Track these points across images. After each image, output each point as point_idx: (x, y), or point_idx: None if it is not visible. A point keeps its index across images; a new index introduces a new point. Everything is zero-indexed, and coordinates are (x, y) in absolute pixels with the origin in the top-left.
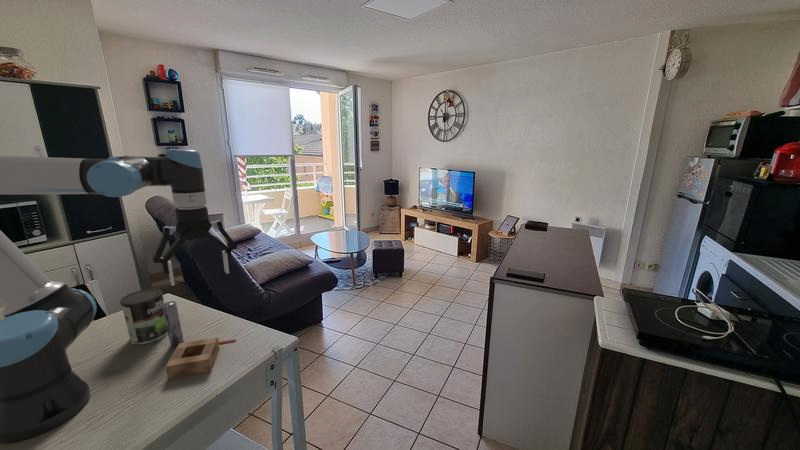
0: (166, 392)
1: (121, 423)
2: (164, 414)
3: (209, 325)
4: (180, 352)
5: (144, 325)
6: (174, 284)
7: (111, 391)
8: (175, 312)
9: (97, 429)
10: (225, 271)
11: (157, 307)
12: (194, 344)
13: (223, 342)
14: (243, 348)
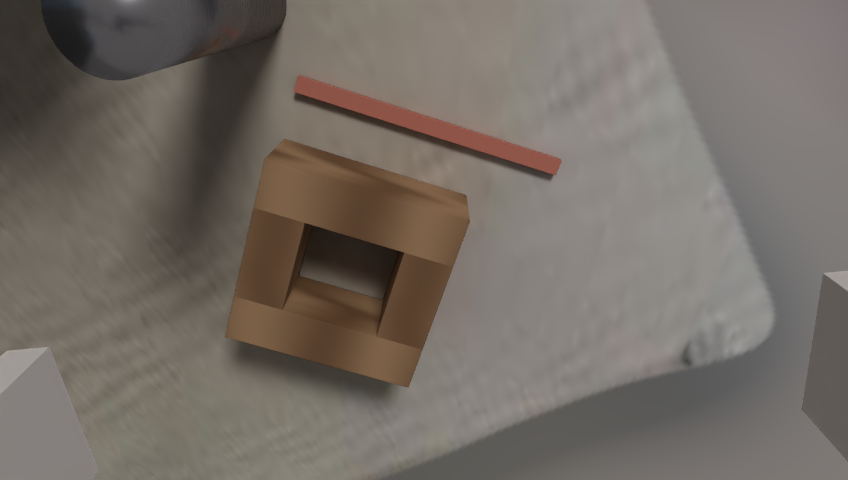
0: (252, 374)
1: (138, 440)
2: (261, 472)
3: None
4: (279, 259)
5: None
6: (89, 477)
7: (37, 252)
8: (190, 51)
9: None
10: (820, 350)
11: None
12: (346, 223)
13: (492, 154)
14: (572, 261)
